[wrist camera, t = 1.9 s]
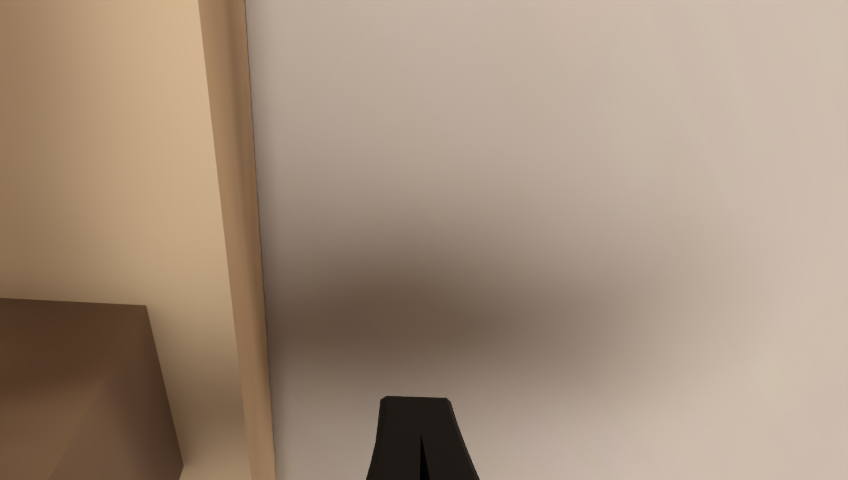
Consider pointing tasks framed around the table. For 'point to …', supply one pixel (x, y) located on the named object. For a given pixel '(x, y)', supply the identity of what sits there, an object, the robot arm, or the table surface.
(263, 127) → the table surface
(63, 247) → the wooden compartment tray
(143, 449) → the walnut block
